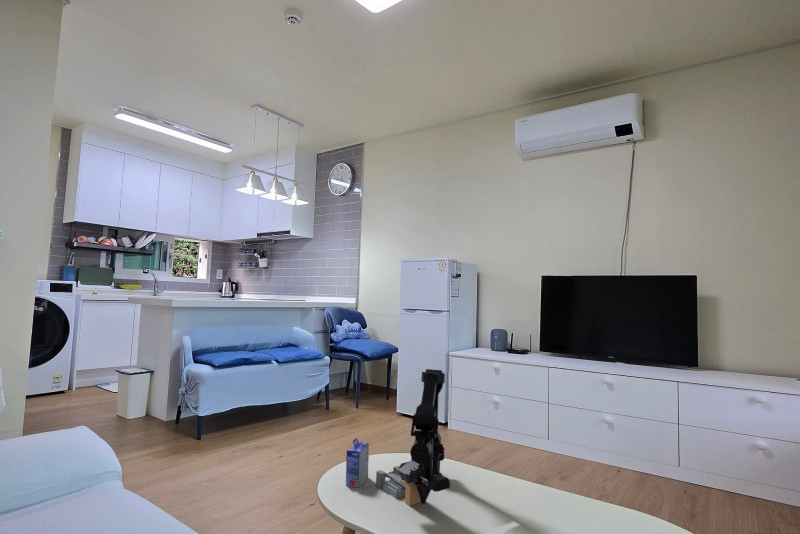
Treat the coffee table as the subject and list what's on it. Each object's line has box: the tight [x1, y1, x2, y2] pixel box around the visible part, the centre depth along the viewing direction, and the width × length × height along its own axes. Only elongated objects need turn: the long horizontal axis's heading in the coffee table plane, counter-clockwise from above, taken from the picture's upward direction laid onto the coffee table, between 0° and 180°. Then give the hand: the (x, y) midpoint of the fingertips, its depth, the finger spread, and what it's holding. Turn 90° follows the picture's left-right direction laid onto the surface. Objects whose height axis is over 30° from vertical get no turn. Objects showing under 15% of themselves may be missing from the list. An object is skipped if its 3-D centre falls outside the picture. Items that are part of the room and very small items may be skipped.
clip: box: [400, 479, 421, 507], centre depth 140 cm, size 6×6×6 cm
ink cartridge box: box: [345, 437, 370, 488], centre depth 155 cm, size 10×6×14 cm, turn 165°
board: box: [362, 465, 405, 499], centre depth 143 cm, size 18×23×6 cm
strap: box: [385, 470, 406, 487], centre depth 146 cm, size 3×13×1 cm, turn 36°
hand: (423, 503), depth 136 cm, fingers closed
